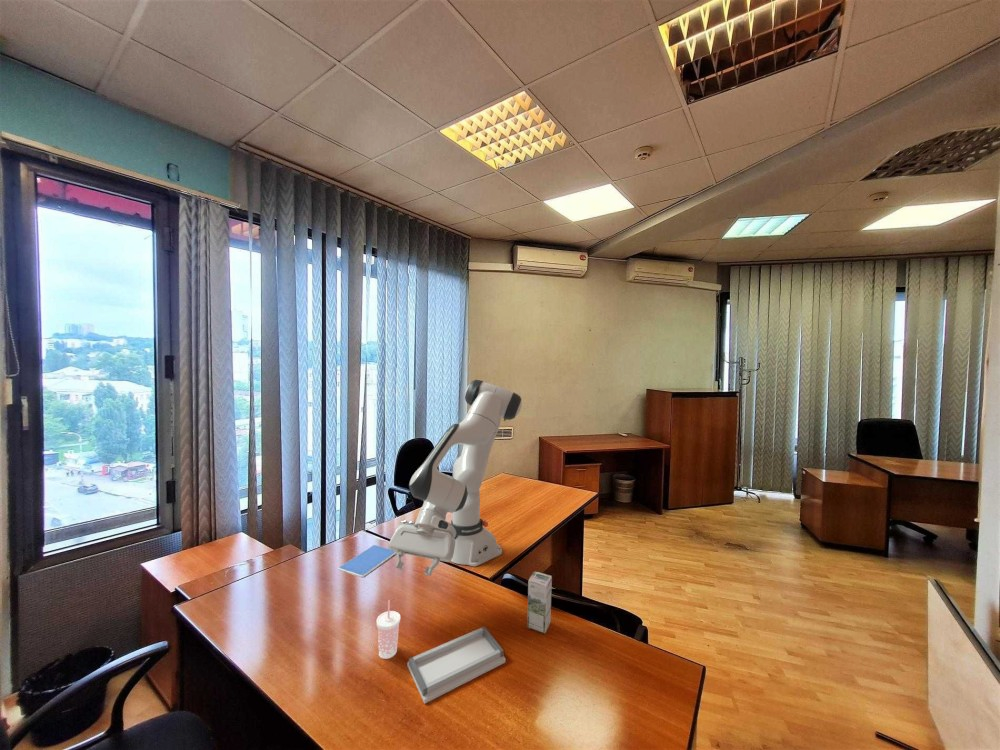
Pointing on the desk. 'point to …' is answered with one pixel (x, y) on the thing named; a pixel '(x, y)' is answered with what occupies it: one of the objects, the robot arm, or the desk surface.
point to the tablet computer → (367, 561)
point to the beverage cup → (388, 633)
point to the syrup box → (539, 602)
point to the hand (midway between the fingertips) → (412, 571)
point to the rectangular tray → (455, 663)
